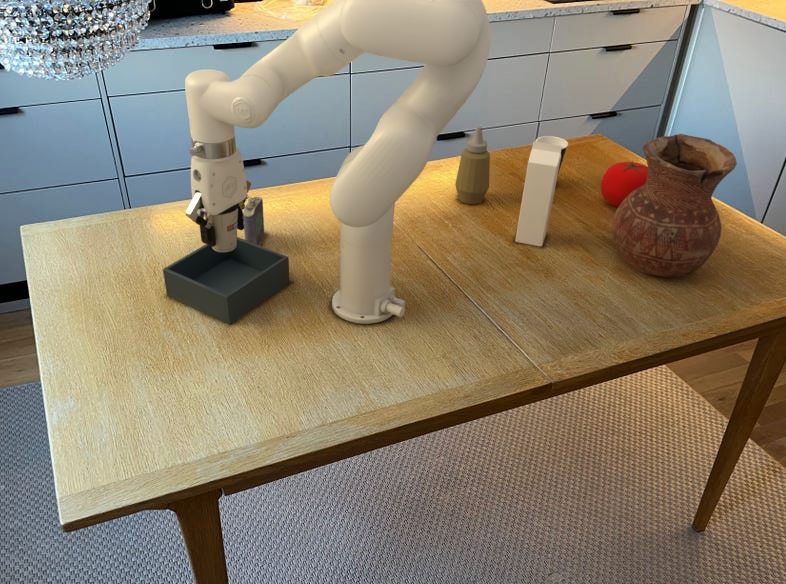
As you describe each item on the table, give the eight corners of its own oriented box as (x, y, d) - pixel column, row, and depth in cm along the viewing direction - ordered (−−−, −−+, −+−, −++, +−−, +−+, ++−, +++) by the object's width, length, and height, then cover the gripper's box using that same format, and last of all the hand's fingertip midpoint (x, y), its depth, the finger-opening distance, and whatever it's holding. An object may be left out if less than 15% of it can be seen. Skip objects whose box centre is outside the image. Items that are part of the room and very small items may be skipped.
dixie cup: (527, 176, 195) (534, 134, 188) (558, 178, 195) (566, 136, 188) (529, 189, 189) (536, 147, 182) (561, 191, 189) (570, 149, 182)
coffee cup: (199, 252, 142) (193, 203, 136) (214, 234, 148) (209, 187, 142) (234, 257, 141) (230, 209, 135) (248, 240, 147) (244, 192, 140)
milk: (541, 247, 167) (560, 152, 153) (514, 242, 168) (530, 147, 154) (546, 234, 171) (564, 140, 157) (519, 229, 173) (535, 136, 159)
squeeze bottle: (448, 194, 186) (455, 122, 175) (479, 190, 188) (487, 119, 177) (461, 208, 180) (469, 135, 169) (492, 204, 182) (502, 132, 171)
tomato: (595, 210, 181) (605, 169, 174) (598, 190, 190) (608, 150, 183) (647, 218, 178) (659, 177, 172) (648, 197, 187) (659, 157, 181)
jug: (723, 290, 155) (765, 175, 139) (620, 288, 154) (652, 173, 139) (686, 236, 172) (720, 129, 157) (594, 234, 172) (619, 127, 156)
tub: (289, 283, 153) (288, 256, 149) (229, 324, 141) (226, 297, 137) (228, 258, 160) (226, 232, 156) (166, 295, 148) (162, 269, 144)
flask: (255, 254, 161) (251, 208, 155) (242, 252, 162) (237, 207, 155) (266, 233, 169) (263, 188, 162) (253, 232, 169) (250, 187, 162)
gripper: (194, 167, 125) (205, 261, 136) (263, 135, 136) (268, 224, 147) (161, 156, 128) (175, 248, 139) (231, 125, 139) (239, 213, 151)
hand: (223, 235), depth 143 cm, fingers closed on coffee cup, 7 cm apart
